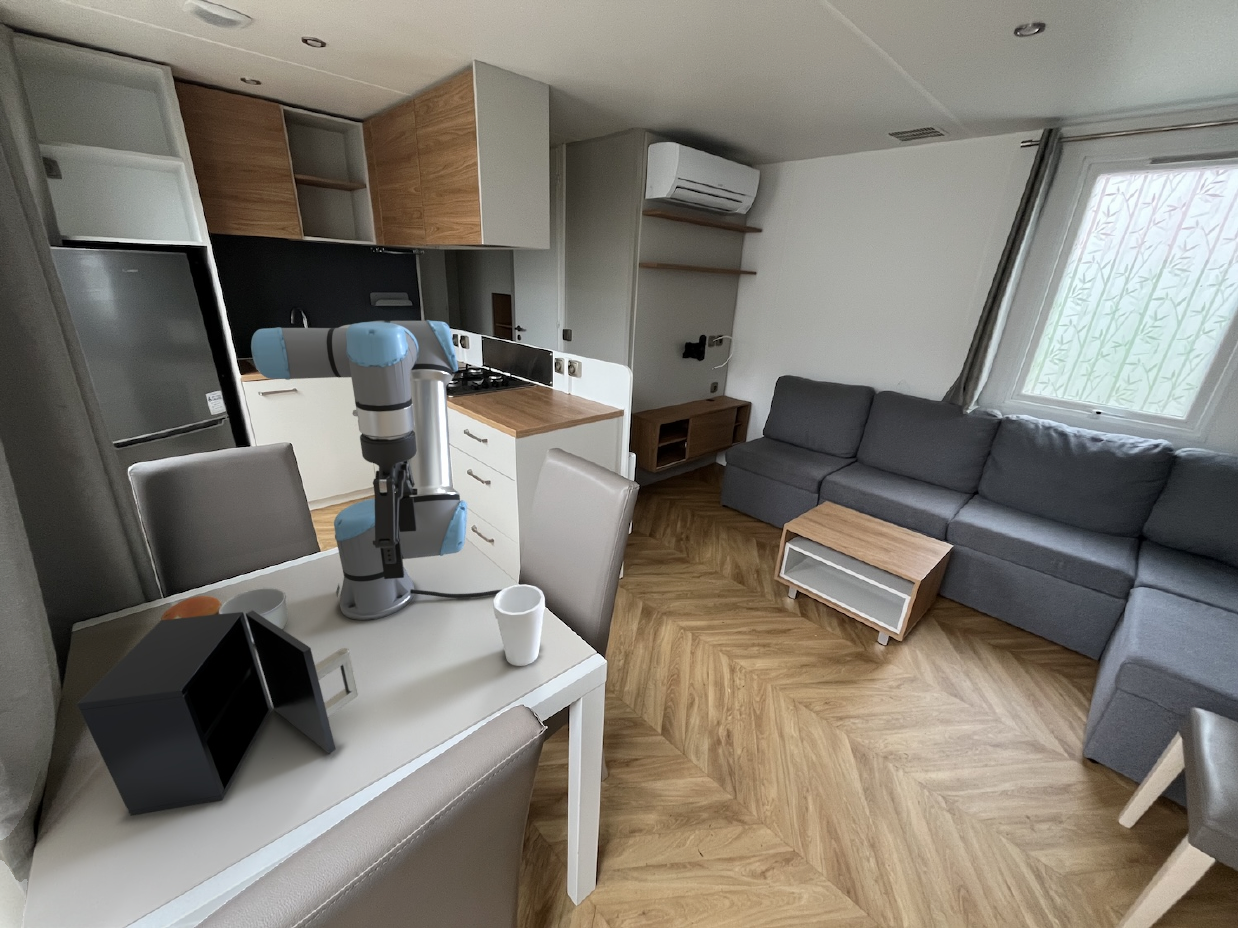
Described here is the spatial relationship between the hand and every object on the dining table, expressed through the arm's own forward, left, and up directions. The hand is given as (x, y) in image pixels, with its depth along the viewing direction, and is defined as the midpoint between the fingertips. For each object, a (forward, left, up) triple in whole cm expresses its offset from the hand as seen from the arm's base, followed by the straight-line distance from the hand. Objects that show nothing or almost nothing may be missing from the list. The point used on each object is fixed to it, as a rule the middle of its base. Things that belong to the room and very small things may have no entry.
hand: (401, 552), depth 81 cm
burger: (+43, -32, -27) cm, 60 cm away
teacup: (+30, -22, -27) cm, 46 cm away
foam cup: (-19, +1, -27) cm, 33 cm away
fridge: (+30, +6, -27) cm, 41 cm away
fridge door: (+16, +3, -26) cm, 31 cm away
